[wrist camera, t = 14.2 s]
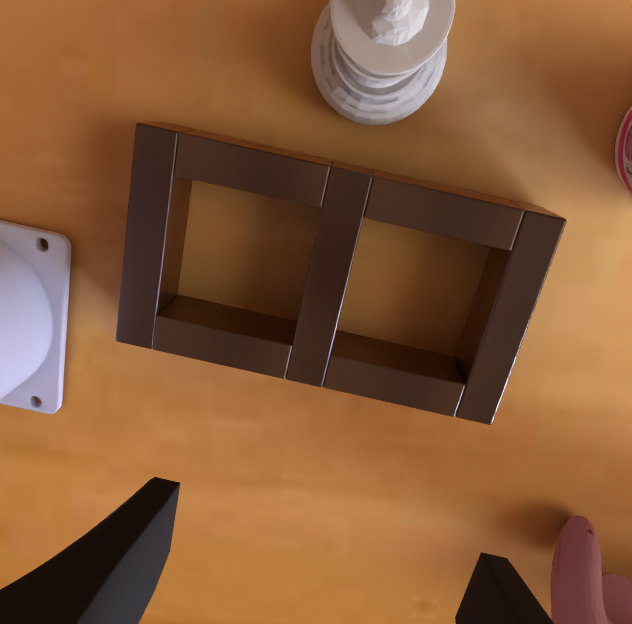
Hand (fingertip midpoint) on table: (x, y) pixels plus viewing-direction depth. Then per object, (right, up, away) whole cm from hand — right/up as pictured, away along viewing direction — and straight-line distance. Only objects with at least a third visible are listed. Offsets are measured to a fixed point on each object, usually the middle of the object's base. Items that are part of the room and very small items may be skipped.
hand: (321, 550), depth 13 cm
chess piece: (+2, +14, +6) cm, 16 cm away
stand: (0, +7, +8) cm, 11 cm away
